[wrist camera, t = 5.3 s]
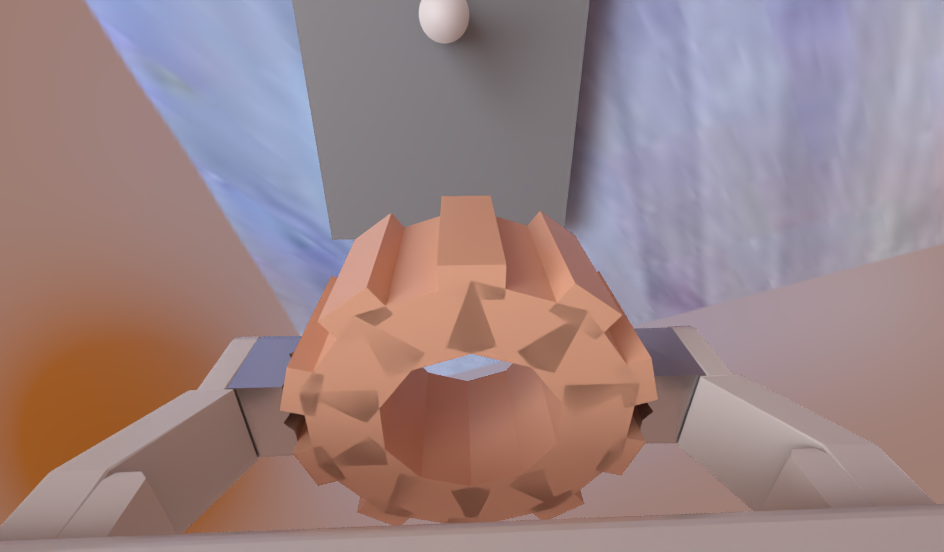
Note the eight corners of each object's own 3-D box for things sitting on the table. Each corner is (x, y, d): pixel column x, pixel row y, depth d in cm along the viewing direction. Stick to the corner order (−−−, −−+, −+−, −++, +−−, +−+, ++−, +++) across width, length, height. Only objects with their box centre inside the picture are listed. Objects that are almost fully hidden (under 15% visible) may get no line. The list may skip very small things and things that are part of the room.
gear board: (611, -340, 16) (703, -542, 10) (555, 221, 27) (586, 272, 21) (249, -356, 15) (136, -581, 10) (339, 225, 26) (311, 279, 20)
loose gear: (626, 193, 9) (697, 260, 6) (585, 421, 12) (621, 527, 10) (301, 198, 9) (238, 269, 6) (347, 428, 12) (318, 539, 9)
